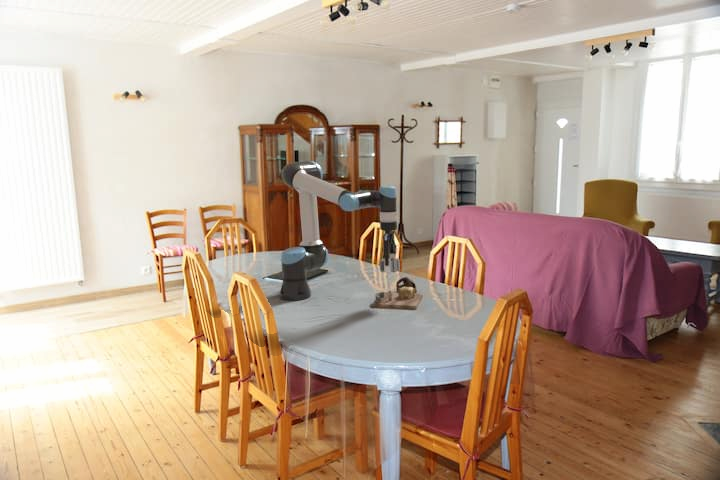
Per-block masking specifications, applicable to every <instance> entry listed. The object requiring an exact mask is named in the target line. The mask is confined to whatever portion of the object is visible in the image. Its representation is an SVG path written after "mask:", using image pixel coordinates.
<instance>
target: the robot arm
mask: <svg viewBox="0 0 720 480" xmlns="http://www.w3.org/2000/svg"><path fill="white" fill-rule="evenodd" d="M323 174H324V173H323V169H322V167H321V166H320V165H319V164H318V163H317V162H316V161H312V160H303V161H291V162H289V163H287V164H285V166H284V167H282V170H281V179H282V181H283V183H284V184H285V185H286V186H287V187H290V188H292V189H294V190H295V191H297V193H298V196H299V197H298V199H299V211H300V224H301V225H300V226H301V236H302V237H301V238H302V239H301V240H302V241H301V242H300V243H299V246H293V247H289V248H286V249H284V250H283V251H282V252H281V259H280V260H281V261H280V262H281V271H282V274H281V275H282V282H281V287H280V290H279V298H280V299H281V298H282V299H281V300H284V299H285V301H300V300H306V299H309V298H310V297H311V296H312V290H311V288H310V285H309V283H308V278H307V273H309V272H312V271H314V270H319V269H320V268H322V267H325V266H326V264H327V263H328V260H329V251H328V249H327V248H326V246H324V242H323V240H321V239H320V225H319V212H318V199H317V197H318V198H321V199H324V200H326V201H329V202H331V203H333V204H335V205H338V206H339V207H340V208H341V210H343V211H345V212H353V211H357V210H361V209H366V208H379V221H380V222H379V228H380V230H381V231H384V234H383V236H382V243H383V244H382V256H381V258H382V259H383V258H384V272H383V273H386V274H391V273H392V272H391V267H390V258H395V254H396V253H397V250H396V242H395V231H396V230H398V221H397V219H398V218H397V217H398V215H399V214H398V213H397V189H396V187H395V186H392V185H388V186H387V185H383V186H379V188H378V189H379V190H368V189H364V190H363V189H362V190H358V191H357V192H353V191H350V190H348V189H346V188H343V187H341V186H339V185H336V184H334V183H330V182H328V181H326V180H323V178H324V177H323V176H324V175H323ZM308 297H309V298H308Z"/></svg>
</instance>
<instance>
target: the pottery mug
mask: <svg viewBox="0 0 720 480" xmlns="http://www.w3.org/2000/svg"><path fill="white" fill-rule="evenodd" d="M401 283H403V284H401ZM395 286H396V293H399V288H402V287H413V288H414V289H415V293H418V290H417V285H416V283H415V282H414V281H413V279H410V278H409V277H408V276H404V277H402V278H400V279H398V281H396V284H395Z"/></svg>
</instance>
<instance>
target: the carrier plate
mask: <svg viewBox="0 0 720 480" xmlns="http://www.w3.org/2000/svg"><path fill="white" fill-rule="evenodd" d="M423 295H424V294H423V293H418V292H415V289H414V288H413V287H411V286H410V287H402V288H399V291H398V292H396V291H395V292H393V290H392V289H389V290H388V291H380V292H376V293H375V300H374V301H373V302H372V305H371V306H372V308H382V309H383V308H385V309H404V310H405V309H407V310H409V309H410V310H417V309H418V307H419V305H420V302H422V299H423Z"/></svg>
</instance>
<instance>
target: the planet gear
mask: <svg viewBox="0 0 720 480" xmlns="http://www.w3.org/2000/svg"><path fill="white" fill-rule="evenodd" d="M378 260H379V271H380V272H381V273H384V258H382V259H381V258H380V259H378ZM400 264H401V263H400V258H398V257H394V258H390V267H391V272H390V273H397V272H400V271H401V269H400V268H401V265H400Z"/></svg>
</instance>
